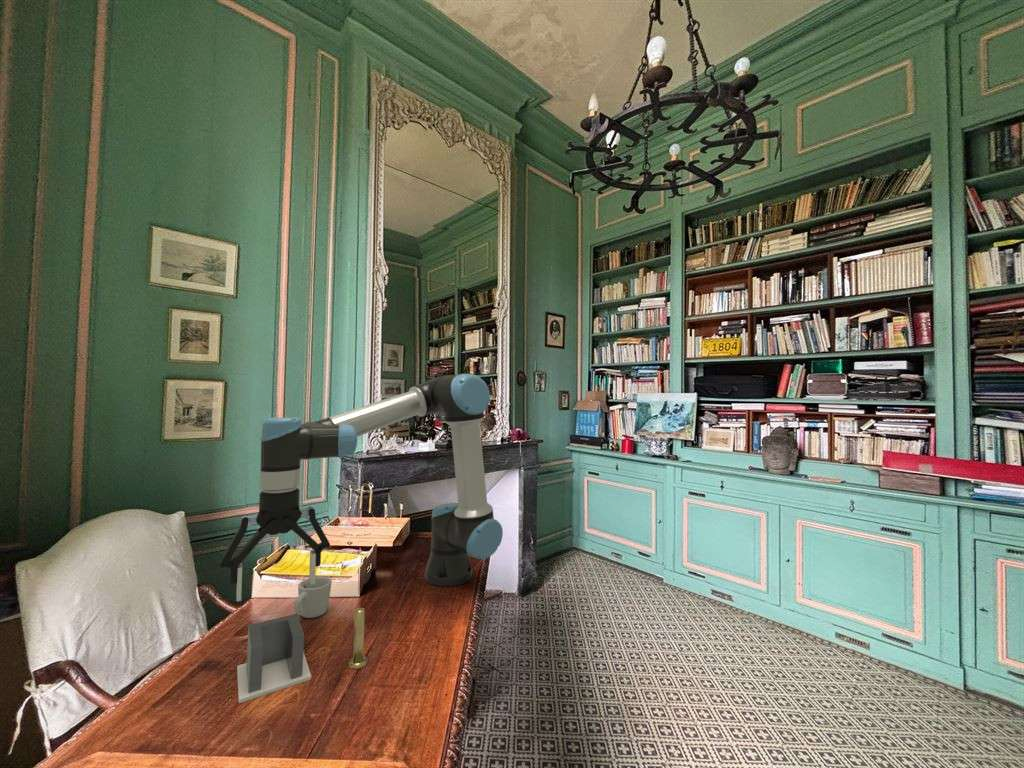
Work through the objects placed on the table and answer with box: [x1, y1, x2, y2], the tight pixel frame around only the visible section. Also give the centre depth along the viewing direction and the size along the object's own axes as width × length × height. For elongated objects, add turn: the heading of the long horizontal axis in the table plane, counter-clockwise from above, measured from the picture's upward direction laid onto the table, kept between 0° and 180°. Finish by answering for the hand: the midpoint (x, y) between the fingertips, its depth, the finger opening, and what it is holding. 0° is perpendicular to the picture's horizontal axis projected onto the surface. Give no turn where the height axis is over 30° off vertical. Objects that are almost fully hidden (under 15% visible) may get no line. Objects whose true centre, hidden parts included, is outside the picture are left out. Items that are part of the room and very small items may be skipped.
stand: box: [348, 607, 368, 670], centre depth 87 cm, size 4×4×11 cm
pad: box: [236, 651, 312, 704], centre depth 83 cm, size 12×12×1 cm
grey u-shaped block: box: [245, 613, 305, 693], centre depth 83 cm, size 9×10×8 cm
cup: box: [293, 575, 333, 619], centre depth 106 cm, size 11×8×8 cm
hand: (277, 590), depth 87 cm, fingers open, 13 cm apart
